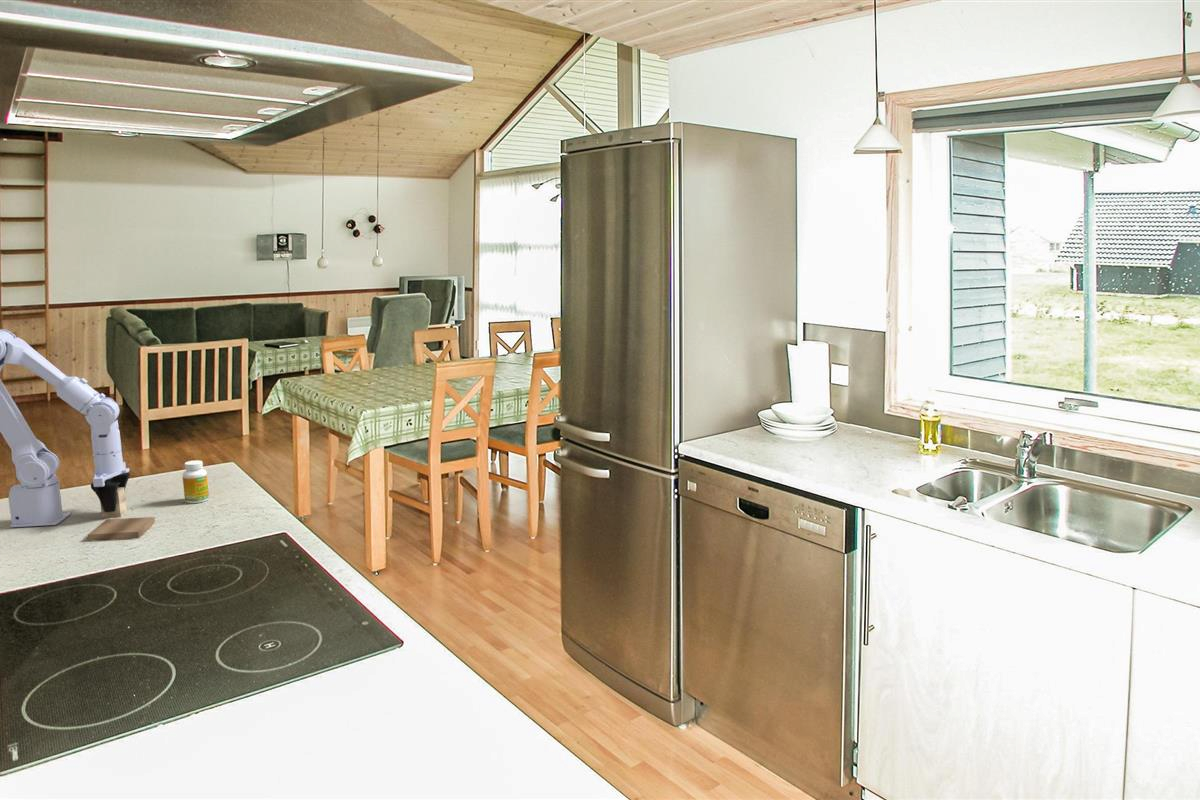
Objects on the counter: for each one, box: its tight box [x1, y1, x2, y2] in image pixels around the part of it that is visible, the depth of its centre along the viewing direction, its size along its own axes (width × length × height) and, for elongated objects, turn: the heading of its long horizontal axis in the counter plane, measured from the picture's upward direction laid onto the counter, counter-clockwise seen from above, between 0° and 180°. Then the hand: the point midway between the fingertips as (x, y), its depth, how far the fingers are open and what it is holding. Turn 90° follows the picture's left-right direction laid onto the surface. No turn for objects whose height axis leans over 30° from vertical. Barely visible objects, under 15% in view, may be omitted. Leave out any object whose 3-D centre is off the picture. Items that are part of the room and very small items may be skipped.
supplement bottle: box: [182, 459, 210, 504], centre depth 209 cm, size 5×5×10 cm
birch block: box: [99, 487, 128, 519], centre depth 199 cm, size 4×4×6 cm
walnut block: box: [87, 516, 156, 542], centre depth 188 cm, size 10×10×2 cm
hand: (113, 508), depth 199 cm, fingers open, 4 cm apart
